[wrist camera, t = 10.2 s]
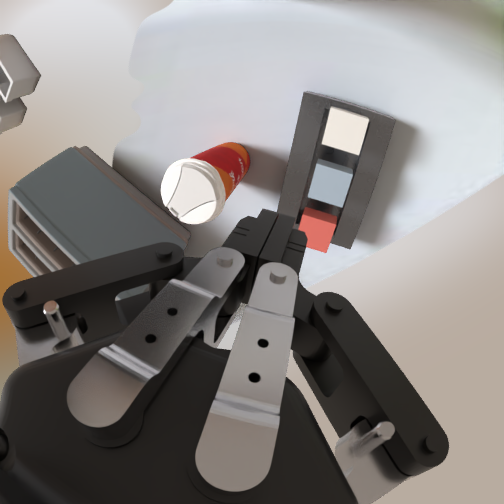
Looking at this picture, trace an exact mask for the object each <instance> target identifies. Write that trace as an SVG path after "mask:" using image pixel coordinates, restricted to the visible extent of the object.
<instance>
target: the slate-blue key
mask: <svg viewBox="0 0 504 504" xmlns="http://www.w3.org/2000/svg"><path fill="white" fill-rule="evenodd" d="M352 176H353V170H352V169H351V168H348V167H345V166H342V165H338V164H335V163H332V162H329V161H325V160H322V159H318V161H317V164H316V167H315V171H314V175H313V179H312V182H311V186H310V190H309V193H308V197H309V198H312V199H316V200H319V201H322V202H326V203H329V204H332V205H335V206H338V207H341V208H342V207H343V204H344V201H345V198H346V195H347V192H348V189H349V186H350V182H351V179H352Z"/></svg>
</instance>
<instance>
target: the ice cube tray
mask: <svg viewBox="0 0 504 504" xmlns="http://www.w3.org/2000/svg"><path fill="white" fill-rule="evenodd" d="M40 77H41V74H40V73H39V71H38V70H37V68H36V67H35V66H34V64H33V63H32V61H31V60H30V58H29V57H28V56H27V54H26V53H25V51H24V50H23V48H22V47H21V45H20V44H19V42H18V41H17V39H16V38H15V37H14V36H13V35H9V34H4V35H0V134H2V132H4V131H7V130H9V129H12V128H14V127H17V126H19V125H20V124H21V123H22V121H23V119H24V116H25V113H26V110H27V107H26V106H25V105H24V103H23V101H22V100H21V98H20V97H22V96H25V95H29V94H31V93H32V92H34V91H35V88H36V86H37V84H38V81H39V79H40Z"/></svg>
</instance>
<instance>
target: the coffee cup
mask: <svg viewBox="0 0 504 504" xmlns="http://www.w3.org/2000/svg"><path fill="white" fill-rule="evenodd" d="M249 166H250V157H249V154H248V152H247V151H246V149H245V148H244V147H242V146H241V145H239V144H237V143H233V142H228V143H224V144H221V145H218V146H216V147H213V148H211V149H209V150H206V151H204V152H202V153H200V154H198V155H195V156H193V157H191V158H185V159H181V160H178V161H176V162H174V163H173V164H172V165H171V166H170V167H169V168H168V169H167V171H166V173H165V175H164V178H163V180H162V184H161V196H162V200H163V203H164V205H165V207H166V206H167V207H168V208H169V211H170V212H171V213H172V214H173V215H174V216H175V217H176V216H177V217H178V218H179V219H180V221H182V222H184V223H188V224H201V223H206V222H209V221H211V220H213V219H215V218H216V217H217V216H218V215H219V214H220V213H221V211H222V209H223V207H224V204H225V201H226V200H227V199H228V197H229V196H230V194H231V193H232V192H233V190H234V189H235V188H236V186H237V185H238V184H239V182H240V181H241V180H242V178H243V177H244V175H245V174H246V173H247V171H248V169H249Z"/></svg>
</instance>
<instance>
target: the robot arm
mask: <svg viewBox="0 0 504 504" xmlns="http://www.w3.org/2000/svg"><path fill="white" fill-rule="evenodd" d="M295 221H296V218H295V217H292V216H288V215H285V214H281V213H280V215H279V213H277V212H274V211H270V210H266V209H262V211H261V212H260V214H259V216H258V217H257V218H254V217H251V216H247V217H245V218H243V219H241V220H240V221H239V222H238V224H237V225H236V227H235V228H234V230H233V231H232V232H231V234H230V235H229V237H228V238H227V240H226V241H225V242H224V244H223V245H222V247H219V248H215V249H212V250H210V251H209V252H208V253H207V254H206V255H205V256H204V257H203V258H193V257H184V252H183V249H182V248H181V247H180V246H178V245H177V244H174V243H170V242H160V243H156V244H152V245H148V246H144V247H140V248H137V249H133V250H129V251H125V252H121V253H118V254H114V255H110V256H107V257H103V258H99V259H96V260H92V261H89V262H85V263H81V264H78V265H74V266H71V267H67V268H64V269H60V270H57V271H54V272H50V273H47V274H43V275H40V276H37V277H33V278H30V279H27V280H23V281H20V282H17V283H15V284H13V285H12V286H10V287H9V288H8V289H7V290H6V292H5V293H4V296H3V305H4V307H5V309H6V311H7V313H8V315H9V317H10V319H11V322H12V324H13V326H14V328H15V330H16V341H17V350H18V359H19V366H20V367H18V368H17V369H16V370H15V371H14V372H13V373H12V374H11V375H10V376H9V378H8V379H7V381H6V383H5V385H4V388H3V391H2V395H1V401H0V504H371V503H373V502H374V501H376V500H378V499H379V498H381V497H382V496H384V495H385V494H386V493H388V492H389V491H391V490H392V489H394V488H395V487H396V486H398V485H399V484H401V483H402V482H404V481H406V480H408V479H410V478H413V477H415V476H417V475H419V474H421V473H423V472H425V471H427V470H430V469H432V468H433V467H435V466H437V465H439V464H441V463H442V462H443V461H444V460H445V458H446V456H447V454H448V450H449V442H448V438H447V435H446V434H445V432H444V430H443V429H442V428H441V426H440V425H439V423H438V422H437V420H436V419H435V417H434V416H433V414H432V413H431V411H430V410H429V409H428V407H427V406H426V404H425V403H424V401H423V400H422V398H421V397H420V396H419V394H418V393H417V392H416V390H415V389H414V387H413V386H412V384H411V383H410V382H409V381H408V379H407V378H406V376H405V375H404V373H403V372H402V371H401V370H400V368H399V367H398V365H397V364H396V362H395V361H394V360H393V358H392V357H391V356H390V354H389V353H388V352H387V350H386V349H385V348H384V346H383V345H382V344H381V342H380V341H379V340H378V338H377V337H376V336H375V334H374V333H373V332H372V331H371V329H370V328H369V327H368V325H367V324H366V323H365V321H364V320H363V319H362V317H361V316H360V315H359V314H358V312H357V311H356V310H355V308H354V307H353V306H352V305H351V303H350V302H349V301H348V300H347V299H346V298H344V297H343V296H341V295H339V294H336V293H333V292H323V293H320V294H319V295H317V296H315V295H314V294H312V293H310V292H308V291H307V290H306V289H305V288H304V287H303V286H302V285H301V283H300V281H299V272H300V268H301V264H302V260H303V257H304V253H305V249H306V245H307V241H308V238H307V236H306V234H305V232H303V231H300V230H297V229H294V225H295ZM146 284H148V285H149V291H147V292H144V293H141V294H137V295H134V296H131V297H128V298H124V299H121V300H117V301H115V298H116V296H117V295H118V294H119V293H121V292H123V291H126V290H129V289H133V288H136V287H139V286H143V285H146ZM241 302H242V303H245V304H248V306H247V305H246V307H245V310H244V313H243V316H242V319H241V322H240V325H239V328H238V331H237V334H236V338H235V340H234V343H233V346H232V349H231V350H226V349H217V347H218V345H219V343H220V342H221V340H222V338H223V337H224V335H225V333H226V331H227V330H228V328H229V326H230V325H231V323H232V321H233V320H234V318H235V316H236V311H237V309H238V308H239V306H240V303H241ZM248 302H249V303H248ZM290 349H292V350H293V357H294V359H295V361H296V363H297V364H298V367H299V368H300V370H301V372H302V374H303V375H304V377H305V379H306V380H307V382H308V384H309V386H310V387H311V389H312V391H313V393H314V394H315V396H316V398H317V400H318V401H319V403H320V405H321V407H322V408H323V410H324V412H325V414H326V415H327V417H328V419H329V421H330V422H331V424H332V426H333V427H334V429H335V431H336V432H337V434H338V436H339V438H340V439H339V440H338V442H337V444H336V447H335V456H336V458H335V456H334V454H333V452H332V450H331V448H330V446H329V444H328V443H327V441H326V439H325V437H324V435H323V433H322V431H321V429H320V427H319V425H318V423H317V421H316V419H315V417H314V415H313V413H312V411H311V409H310V408H309V405H308V403H307V401H306V400H305V398H304V396H303V394H302V393H301V391H300V390H299V389H298V388H297V386H296V385H295V384H294V383H293V382H292V381H291V380H289V379H288V378H287V377H286V372H287V367H288V361H289V355H290ZM336 459H337V460H336Z"/></svg>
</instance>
